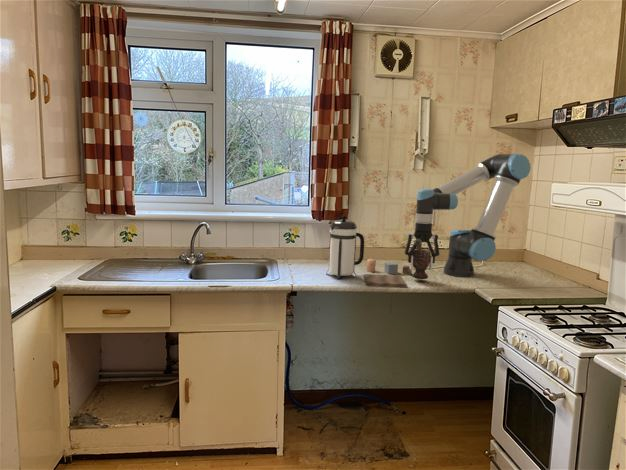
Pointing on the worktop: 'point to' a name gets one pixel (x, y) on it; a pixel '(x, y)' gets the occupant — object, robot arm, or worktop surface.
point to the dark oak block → (406, 270)
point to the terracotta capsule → (371, 265)
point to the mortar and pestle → (420, 261)
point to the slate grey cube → (391, 268)
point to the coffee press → (344, 248)
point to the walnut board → (384, 280)
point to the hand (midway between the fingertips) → (420, 269)
